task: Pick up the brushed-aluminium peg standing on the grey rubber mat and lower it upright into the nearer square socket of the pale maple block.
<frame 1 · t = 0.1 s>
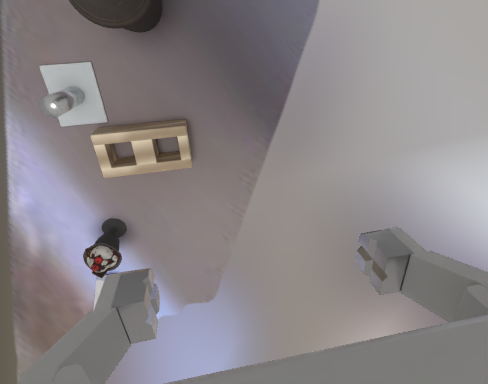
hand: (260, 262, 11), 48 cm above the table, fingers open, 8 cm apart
container: (135, 2, 45), on the table
sundae: (114, 227, 63), on the table
peg: (75, 95, 49), resting on mat
socket block: (147, 143, 56), on the table
mat: (76, 95, 50), on the table
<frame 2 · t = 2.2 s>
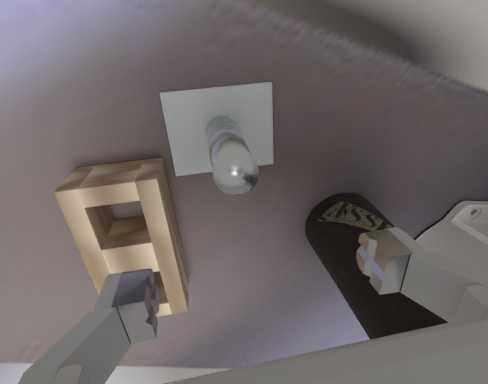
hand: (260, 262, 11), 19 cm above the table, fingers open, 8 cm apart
container: (336, 221, 35), on the table
peg: (221, 131, 27), resting on mat
socket block: (139, 230, 31), on the table
mat: (221, 130, 28), on the table
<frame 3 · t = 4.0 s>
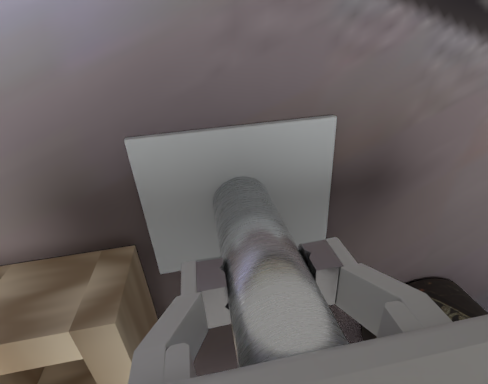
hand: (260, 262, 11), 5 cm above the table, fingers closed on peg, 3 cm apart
container: (406, 312, 23), on the table
peg: (241, 202, 15), resting on mat, touching gripper
socket block: (102, 349, 19), on the table
mat: (239, 198, 16), on the table
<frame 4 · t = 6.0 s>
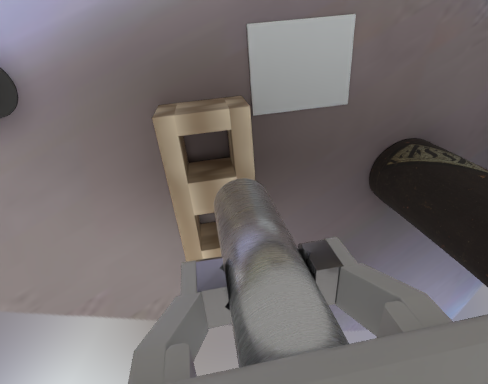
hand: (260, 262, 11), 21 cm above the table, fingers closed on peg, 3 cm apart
container: (399, 169, 35), on the table
peg: (241, 203, 15), point 16 cm above the table, touching gripper
socket block: (211, 174, 32), on the table
mat: (300, 67, 28), on the table
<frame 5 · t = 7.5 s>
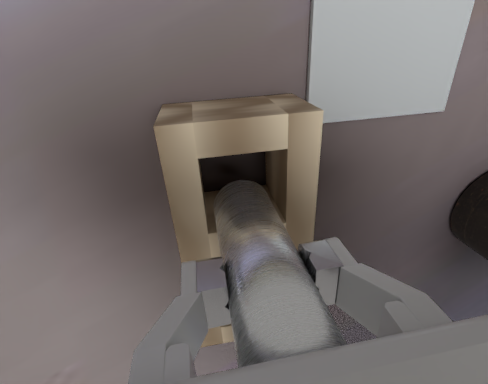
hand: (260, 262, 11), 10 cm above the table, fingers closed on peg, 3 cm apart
peg: (241, 205, 15), point 5 cm above the table, touching gripper
socket block: (237, 209, 21), on the table
mat: (385, 52, 18), on the table
when the fingers open (7 cm above the table, at t = 8.3 s): peg drops 2 cm, resting in socket block.
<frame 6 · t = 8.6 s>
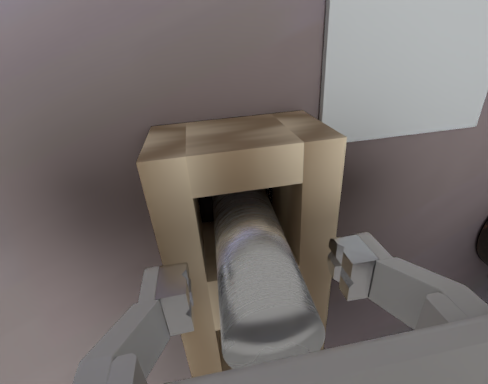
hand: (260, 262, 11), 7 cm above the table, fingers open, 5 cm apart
peg: (237, 189, 17), resting in socket block
socket block: (239, 239, 19), on the table
mat: (410, 60, 15), on the table
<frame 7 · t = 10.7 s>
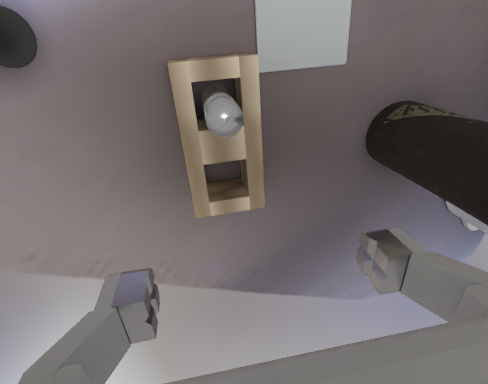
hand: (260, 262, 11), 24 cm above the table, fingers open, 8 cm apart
container: (394, 132, 38), on the table
sundae: (7, 37, 26), on the table
peg: (215, 98, 31), resting in socket block
socket block: (218, 132, 33), on the table
mat: (302, 26, 30), on the table
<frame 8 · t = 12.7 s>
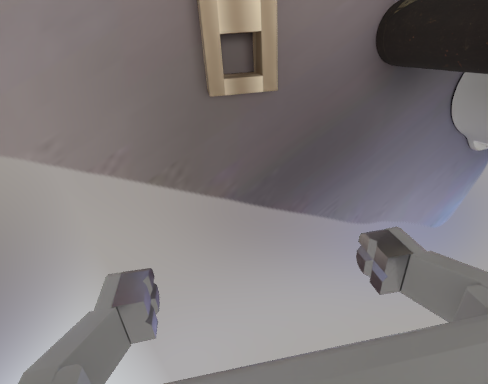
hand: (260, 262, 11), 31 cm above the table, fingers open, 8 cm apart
container: (403, 32, 38), on the table
socket block: (233, 16, 34), on the table
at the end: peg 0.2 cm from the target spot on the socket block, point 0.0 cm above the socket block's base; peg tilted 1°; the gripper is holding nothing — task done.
